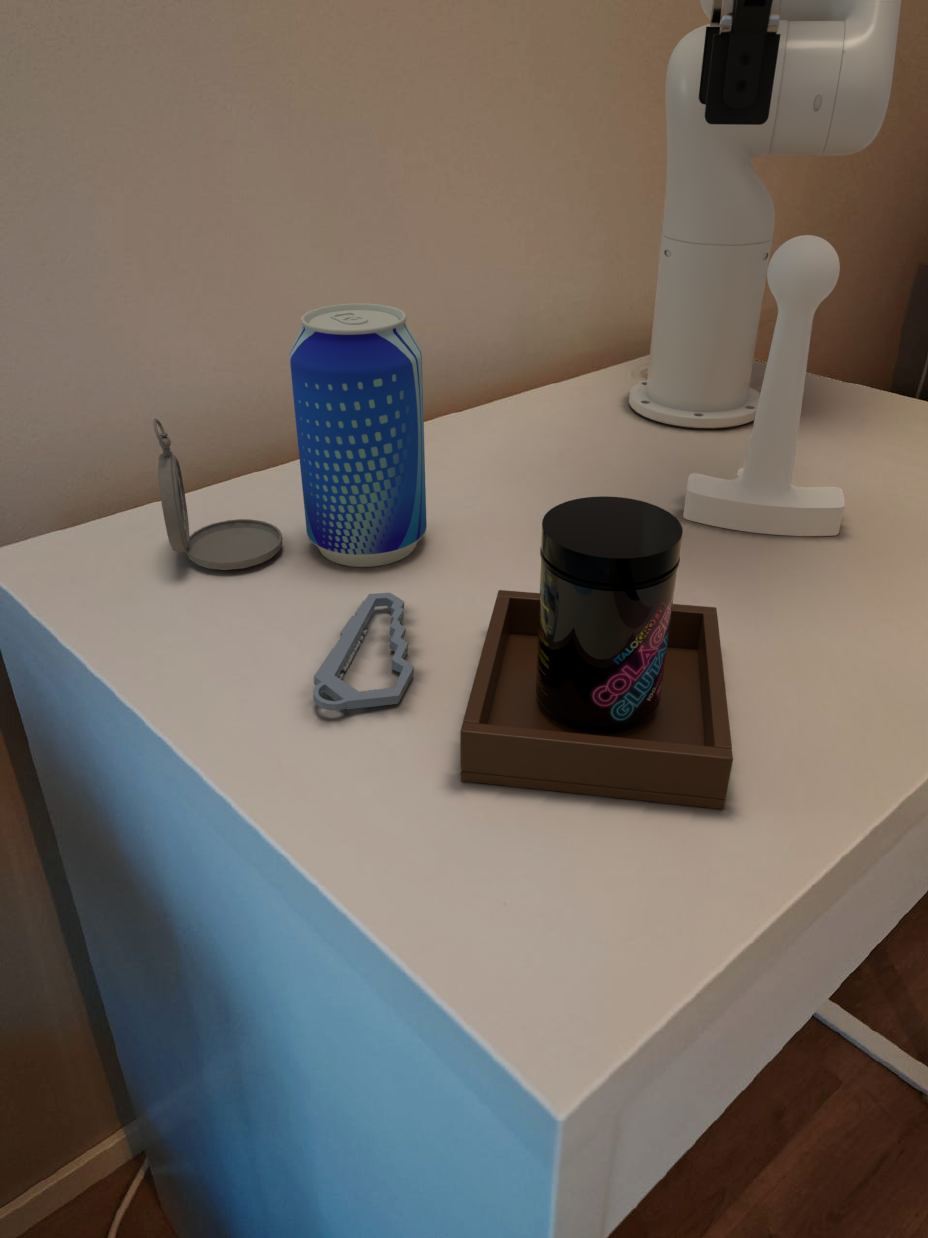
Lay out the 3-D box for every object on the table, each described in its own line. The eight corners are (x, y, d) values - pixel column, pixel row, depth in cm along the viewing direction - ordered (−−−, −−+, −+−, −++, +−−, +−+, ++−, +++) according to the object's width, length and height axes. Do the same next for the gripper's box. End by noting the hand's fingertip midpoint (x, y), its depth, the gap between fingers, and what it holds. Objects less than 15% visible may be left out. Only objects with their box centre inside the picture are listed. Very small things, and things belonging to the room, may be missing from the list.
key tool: (440, 614, 61) (364, 600, 61) (441, 602, 60) (364, 587, 61) (391, 730, 51) (301, 712, 52) (392, 716, 50) (301, 698, 51)
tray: (497, 633, 59) (498, 589, 57) (709, 651, 57) (716, 606, 55) (460, 781, 47) (459, 731, 46) (724, 810, 45) (733, 759, 44)
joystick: (681, 524, 71) (718, 237, 61) (688, 484, 77) (722, 217, 67) (839, 541, 69) (906, 246, 58) (834, 498, 75) (893, 224, 64)
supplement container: (565, 752, 48) (577, 568, 43) (514, 678, 54) (519, 507, 48) (684, 723, 50) (711, 544, 45) (623, 655, 55) (640, 488, 50)
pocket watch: (302, 551, 68) (288, 414, 63) (200, 595, 63) (175, 450, 57) (233, 516, 73) (215, 386, 67) (133, 555, 67) (105, 417, 62)
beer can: (433, 520, 72) (429, 300, 63) (418, 575, 65) (410, 335, 56) (323, 516, 73) (303, 298, 64) (295, 569, 65) (269, 332, 57)
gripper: (905, -361, 37) (819, 134, 47) (838, -266, 51) (782, 98, 61) (706, -349, 38) (662, 132, 48) (694, -260, 52) (661, 97, 62)
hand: (729, 112), depth 54 cm, fingers open, 9 cm apart
